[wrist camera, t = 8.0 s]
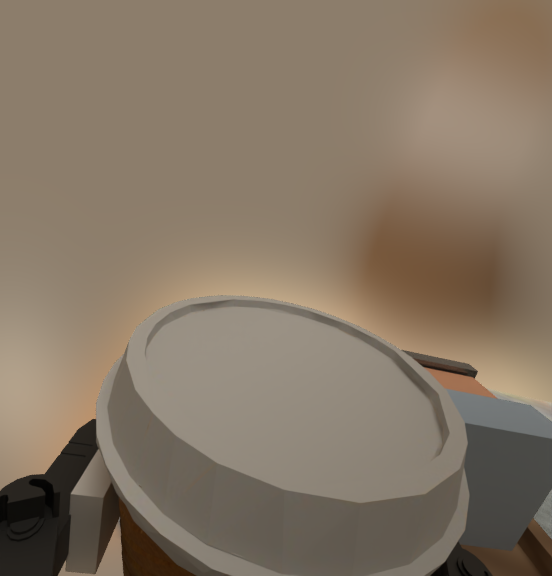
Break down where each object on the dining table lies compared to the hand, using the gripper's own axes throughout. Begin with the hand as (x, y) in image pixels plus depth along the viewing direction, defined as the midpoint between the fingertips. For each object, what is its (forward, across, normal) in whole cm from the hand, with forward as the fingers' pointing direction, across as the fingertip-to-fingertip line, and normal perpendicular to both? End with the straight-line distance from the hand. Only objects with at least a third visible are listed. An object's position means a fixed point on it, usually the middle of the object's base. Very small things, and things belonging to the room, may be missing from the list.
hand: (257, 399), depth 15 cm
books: (+6, +14, -9) cm, 18 cm away
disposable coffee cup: (-5, 0, -7) cm, 8 cm away
